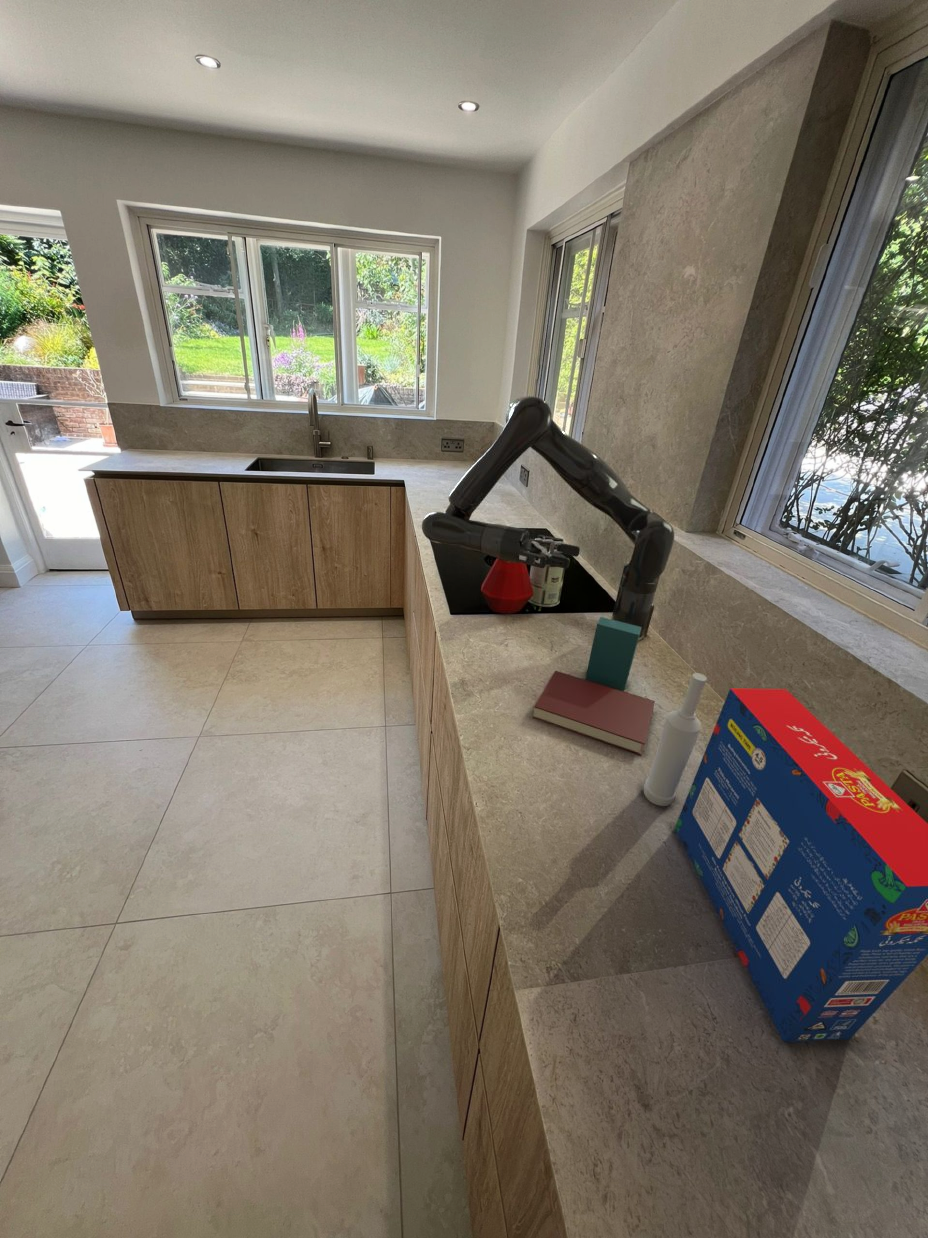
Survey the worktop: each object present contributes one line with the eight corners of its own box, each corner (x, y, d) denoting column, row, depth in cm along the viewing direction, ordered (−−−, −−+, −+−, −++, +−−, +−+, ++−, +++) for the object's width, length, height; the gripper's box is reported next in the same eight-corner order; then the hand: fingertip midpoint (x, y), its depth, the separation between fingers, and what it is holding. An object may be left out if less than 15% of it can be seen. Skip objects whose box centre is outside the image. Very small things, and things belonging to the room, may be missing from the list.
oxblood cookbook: (532, 717, 102) (534, 706, 100) (553, 681, 114) (555, 670, 113) (641, 755, 94) (645, 743, 93) (651, 712, 106) (655, 701, 105)
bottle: (673, 789, 87) (716, 671, 75) (674, 811, 83) (720, 690, 71) (642, 780, 88) (680, 664, 77) (642, 801, 84) (682, 682, 72)
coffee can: (539, 589, 159) (545, 548, 152) (566, 600, 153) (573, 558, 146) (519, 598, 152) (525, 555, 145) (546, 610, 146) (554, 566, 139)
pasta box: (850, 1039, 56) (991, 884, 42) (783, 1042, 55) (906, 886, 42) (721, 828, 80) (786, 689, 67) (674, 829, 80) (730, 688, 66)
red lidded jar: (522, 596, 153) (530, 534, 144) (538, 617, 142) (548, 551, 132) (473, 599, 149) (478, 535, 140) (485, 620, 138) (492, 552, 129)
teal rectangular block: (584, 679, 115) (597, 623, 108) (588, 671, 119) (600, 616, 111) (623, 691, 112) (638, 634, 105) (626, 683, 115) (641, 627, 108)
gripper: (494, 534, 105) (568, 550, 99) (517, 518, 116) (585, 532, 111) (491, 567, 108) (562, 584, 103) (514, 549, 120) (579, 563, 114)
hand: (574, 557), depth 107 cm, fingers open, 8 cm apart
